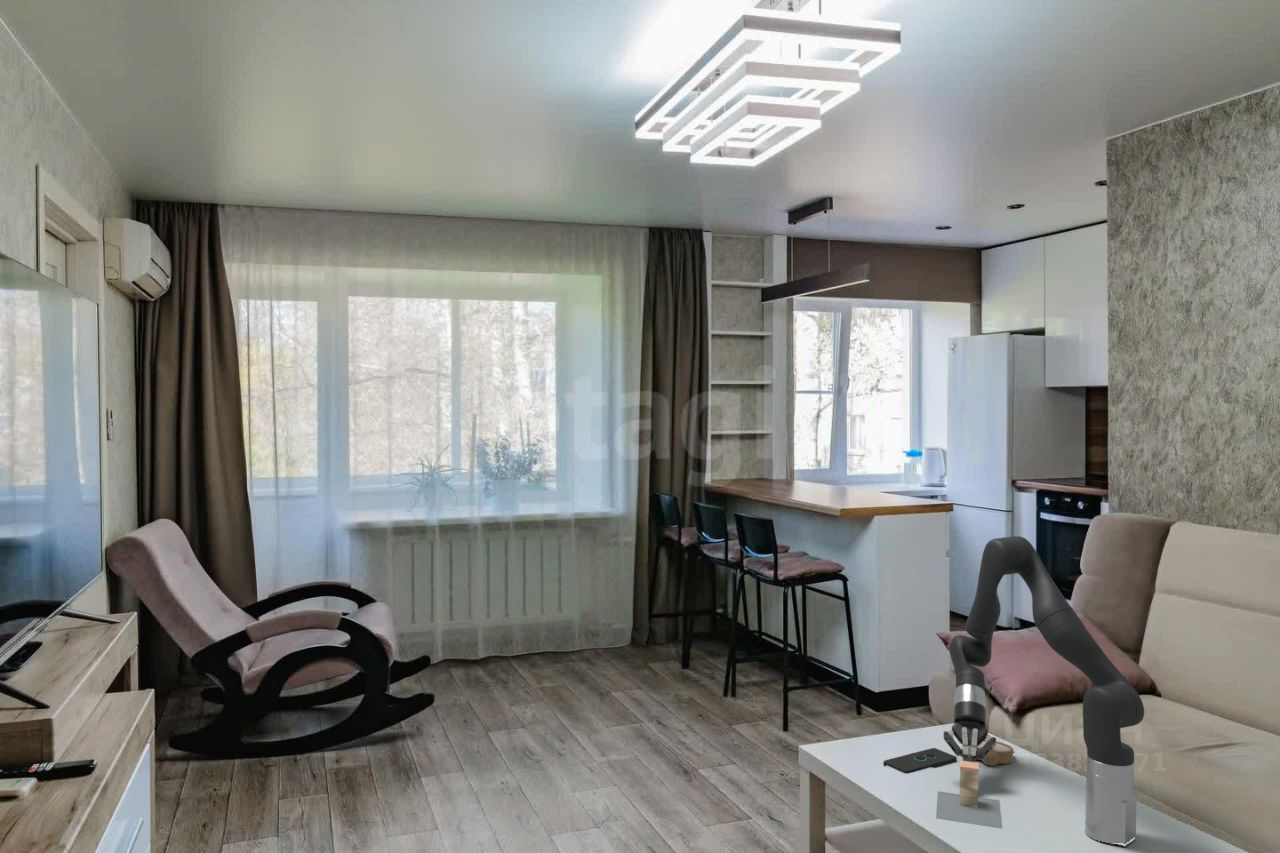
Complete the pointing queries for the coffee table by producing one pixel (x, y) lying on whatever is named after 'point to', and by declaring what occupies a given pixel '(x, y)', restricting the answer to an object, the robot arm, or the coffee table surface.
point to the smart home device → (920, 760)
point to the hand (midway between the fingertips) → (969, 772)
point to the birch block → (969, 783)
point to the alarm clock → (996, 754)
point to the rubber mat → (968, 810)
